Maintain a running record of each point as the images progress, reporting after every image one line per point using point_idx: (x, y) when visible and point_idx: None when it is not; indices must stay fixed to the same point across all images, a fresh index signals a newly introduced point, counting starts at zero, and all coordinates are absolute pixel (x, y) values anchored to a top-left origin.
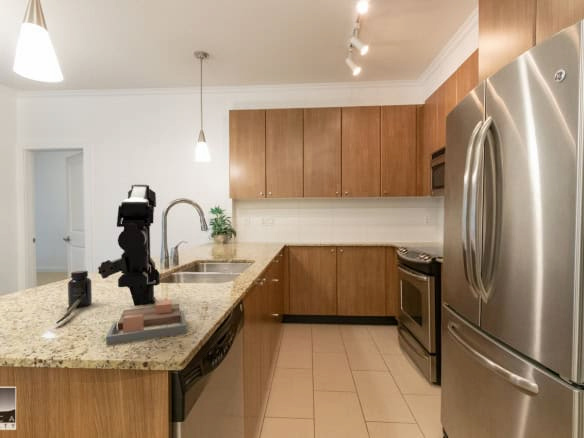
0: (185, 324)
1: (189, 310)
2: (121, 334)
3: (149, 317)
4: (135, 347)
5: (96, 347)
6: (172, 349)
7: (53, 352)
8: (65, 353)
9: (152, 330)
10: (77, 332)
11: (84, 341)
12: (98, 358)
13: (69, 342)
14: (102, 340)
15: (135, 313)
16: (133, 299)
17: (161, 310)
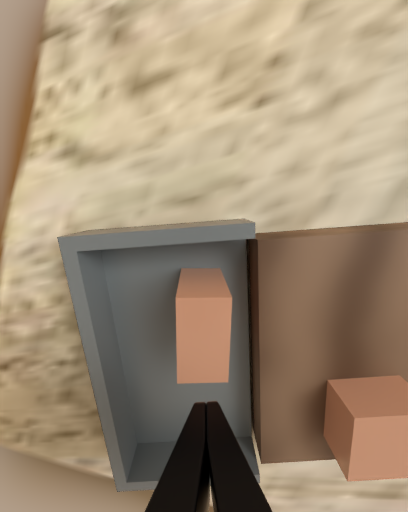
0: (128, 490)
1: None
2: (74, 295)
3: (287, 362)
4: None
5: (117, 188)
6: (47, 416)
7: (108, 11)
8: (85, 76)
9: (95, 398)
10: (332, 36)
11: (196, 116)
12: (18, 223)
13: (206, 45)
14: (183, 192)
15: (386, 294)
16: (167, 466)
17: (333, 413)
